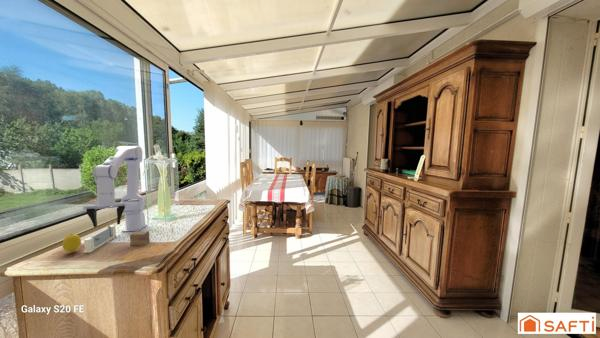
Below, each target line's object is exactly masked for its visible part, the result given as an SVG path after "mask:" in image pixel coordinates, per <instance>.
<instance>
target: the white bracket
mask: <svg viewBox="0 0 600 338" xmlns="http://www.w3.org/2000/svg"><path fill="white" fill-rule="evenodd" d="M109 226H110V227H111V237H109V238H108V239H106V240H104V241H103V242H101V243H100V244H98V245H96V246H95V247H94V245H93V238H91V237H87V238H85V239H84V240H83V244H84V251H83V253H84V254H89V253H92V252H93V251H95V250H97V249H98V248H100V247H102V246H103V245H104V244H107V243H108V242H109V241H111V240H112V239H114V238H115V237H117V232H116V231H117V230H116V225H113V224H111V225H109Z"/></svg>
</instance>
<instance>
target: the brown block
mask: <svg viewBox="0 0 600 338" xmlns="http://www.w3.org/2000/svg"><path fill="white" fill-rule="evenodd" d="M150 241H151V240H150V230H139V231H132V232H131V234H129V243H130V246H133V247H134V246H143V245H144V246H145V245H147V244H148V243H149V242H150Z"/></svg>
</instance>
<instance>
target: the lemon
mask: <svg viewBox="0 0 600 338" xmlns="http://www.w3.org/2000/svg"><path fill="white" fill-rule="evenodd" d="M61 245H62V249H63V250H64V251H66V252H68V253H69V252H70V253H75V252H76V251H77V250H78V249H80V247H81V246H82V240H81V237H80V235H78V234H74V233H70V234H68V235H66V236H65V237H64V238H63V239H62V243H61Z"/></svg>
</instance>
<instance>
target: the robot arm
mask: <svg viewBox="0 0 600 338" xmlns="http://www.w3.org/2000/svg"><path fill="white" fill-rule="evenodd" d="M142 162H143V150H142V148H141V146H139V145H118V146H117V147H116V149H115V154H114V156H109V157H108V158H107V159H106V160H104V162H103V163H102V164H99V165H96V166H95V167H93V169H92V170H93V171H92V176H93V179H94V183H95V184H96V194H97V197H96V199H97V203H94V204H85V205H83V206H82V211H83V212H85V213H86V215H87V216H88V218H89V219H90V221H91V222H92V225H93V228H96V227H98V221H97V218H98V217H97V214H98V213H97V211H98V210H102V209H104V210H105V209H115V208H116V216H117V219H116V225H120V224H121V219H122V215H124V220H125V228H124V229H123V230H121V231H122V232H137V231H142V229H143V228H146V226H148V224H147V223H146V217H145V215H146V214H145V212H144V210H145V208H146V202H145V197H144V196H143V195H141V194H140V193H139V178H140V177H139V175H140V174H139V171H140V168H139V167H140V164H141V163H142ZM123 163H124V164H127V167H126V168H127V172H126V173H127V174H126V177H127V178H126V195H124V196H123V197H121V199H120V201H118V202H117V201H116V190H115V188H116V187H115V178H116V177H117V175H118V172H119V169H120V168H121V167H122V165H123Z"/></svg>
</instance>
